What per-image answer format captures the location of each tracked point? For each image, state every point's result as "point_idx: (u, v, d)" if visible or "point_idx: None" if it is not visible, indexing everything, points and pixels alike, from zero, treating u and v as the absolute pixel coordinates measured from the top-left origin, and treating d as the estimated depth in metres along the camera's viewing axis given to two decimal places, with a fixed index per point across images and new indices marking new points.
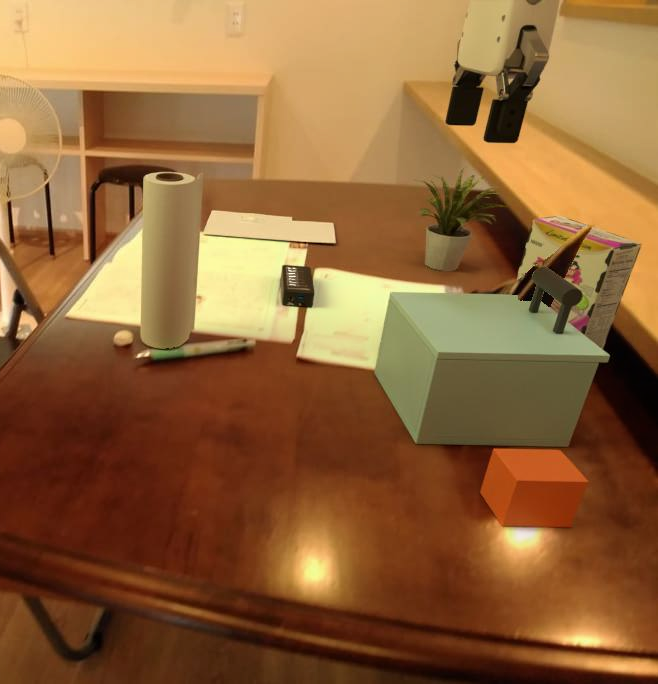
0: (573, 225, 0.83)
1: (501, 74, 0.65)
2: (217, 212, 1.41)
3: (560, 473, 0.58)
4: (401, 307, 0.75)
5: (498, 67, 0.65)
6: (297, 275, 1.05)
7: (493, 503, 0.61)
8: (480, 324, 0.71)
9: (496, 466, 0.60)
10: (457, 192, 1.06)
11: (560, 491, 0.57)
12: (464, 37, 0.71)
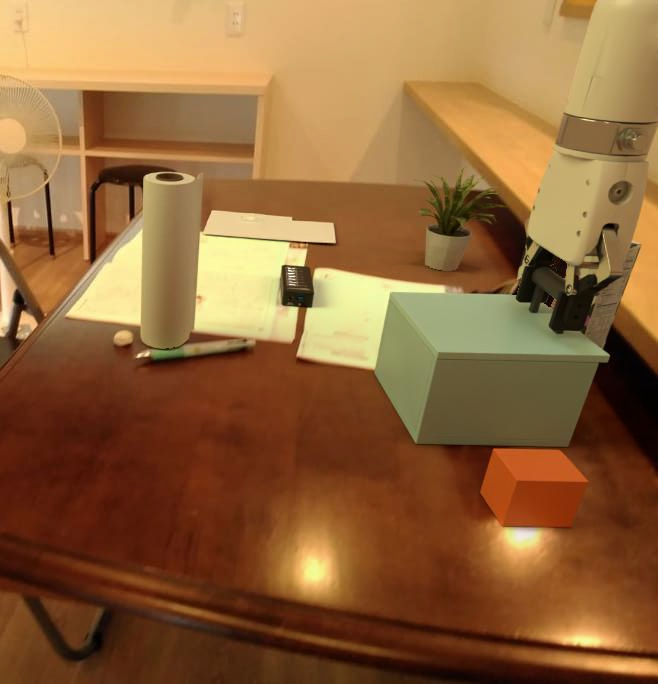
0: None
1: (572, 270, 0.65)
2: (217, 212, 1.41)
3: (560, 473, 0.58)
4: (401, 307, 0.75)
5: (577, 260, 0.64)
6: (297, 275, 1.05)
7: (493, 503, 0.61)
8: (480, 324, 0.71)
9: (496, 466, 0.60)
10: (457, 192, 1.06)
11: (560, 491, 0.57)
12: (536, 212, 0.70)
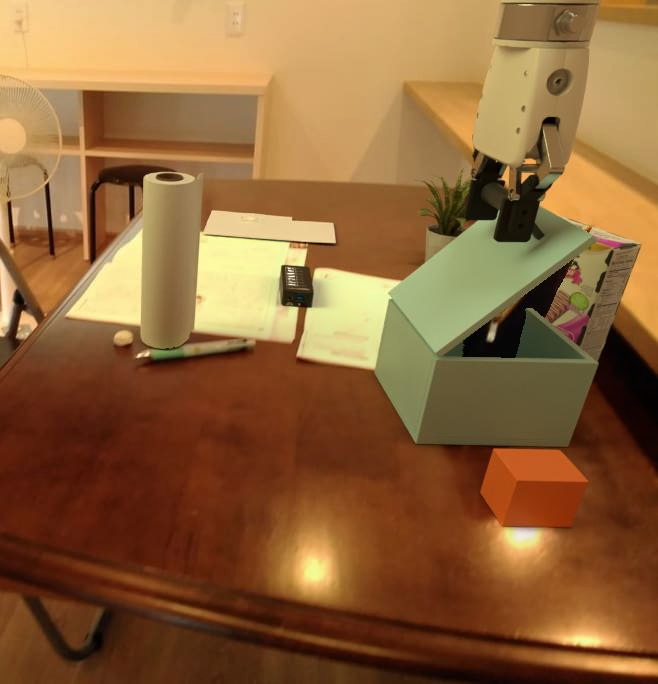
0: None
1: (515, 173, 0.61)
2: (217, 212, 1.41)
3: (560, 473, 0.58)
4: (399, 307, 0.75)
5: (518, 160, 0.59)
6: (296, 275, 1.05)
7: (493, 503, 0.61)
8: (468, 281, 0.68)
9: (496, 466, 0.60)
10: (457, 192, 1.06)
11: (560, 491, 0.57)
12: (479, 119, 0.66)
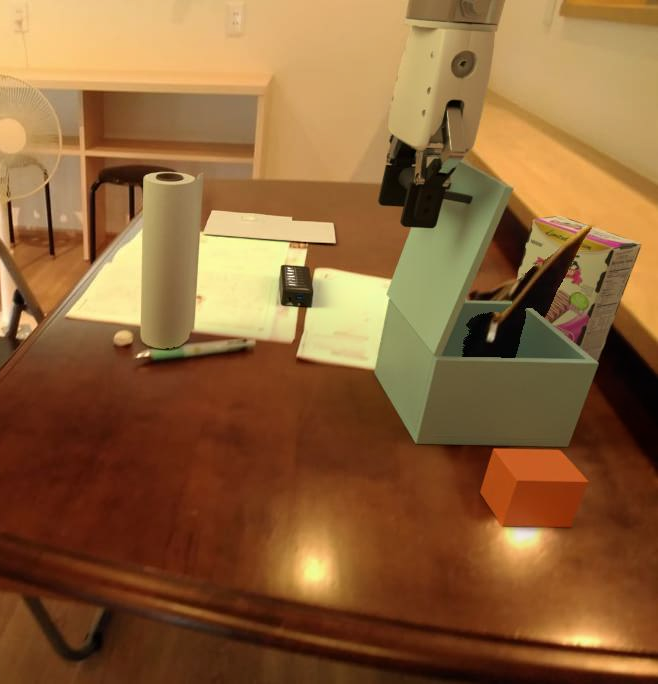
0: (573, 225, 0.83)
1: (420, 156, 0.60)
2: (217, 212, 1.41)
3: (560, 473, 0.58)
4: (398, 308, 0.75)
5: (423, 143, 0.59)
6: (296, 275, 1.05)
7: (493, 503, 0.61)
8: (435, 265, 0.68)
9: (496, 466, 0.60)
10: None
11: (560, 491, 0.57)
12: (394, 102, 0.65)
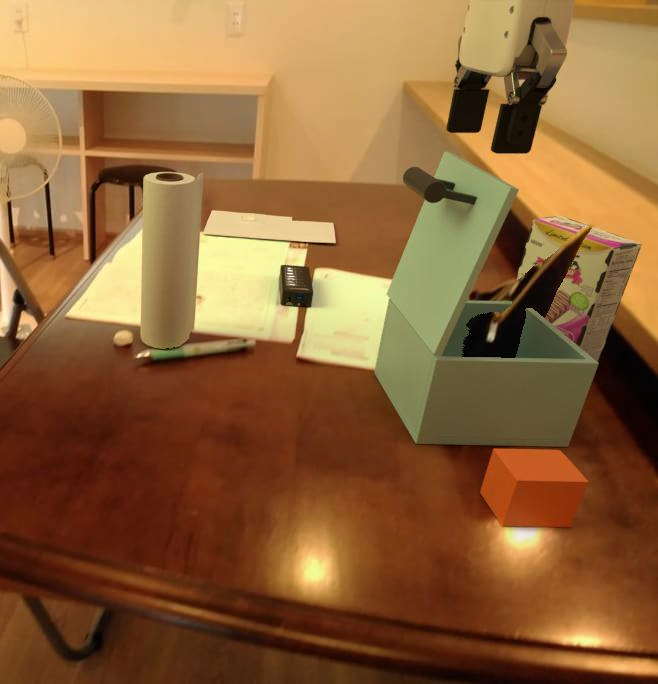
0: (573, 225, 0.83)
1: (510, 75, 0.56)
2: (217, 212, 1.41)
3: (560, 473, 0.58)
4: (398, 308, 0.75)
5: (507, 67, 0.56)
6: (296, 275, 1.05)
7: (493, 503, 0.61)
8: (436, 265, 0.68)
9: (496, 466, 0.60)
10: None
11: (560, 491, 0.57)
12: (466, 33, 0.62)
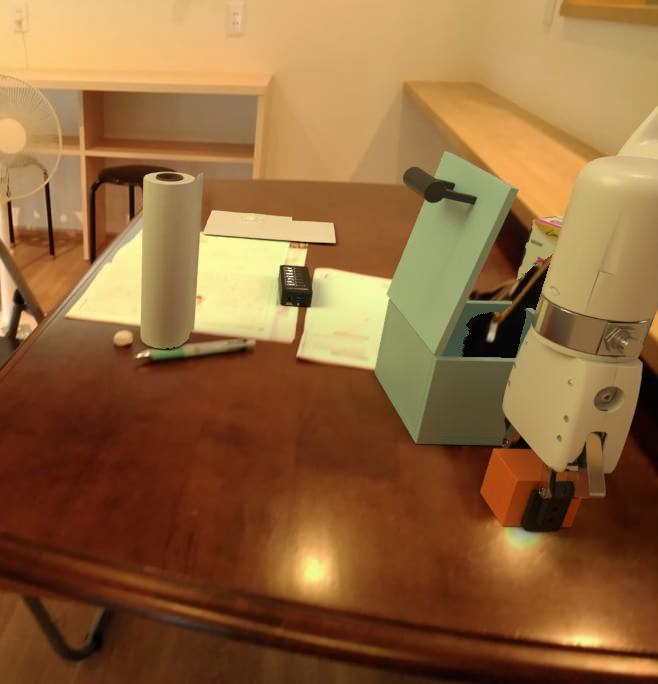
0: None
1: (549, 472, 0.55)
2: (217, 212, 1.41)
3: (560, 473, 0.58)
4: (398, 308, 0.75)
5: (558, 467, 0.53)
6: (295, 275, 1.05)
7: (493, 503, 0.61)
8: (436, 265, 0.68)
9: (496, 466, 0.60)
10: None
11: None
12: (511, 390, 0.60)
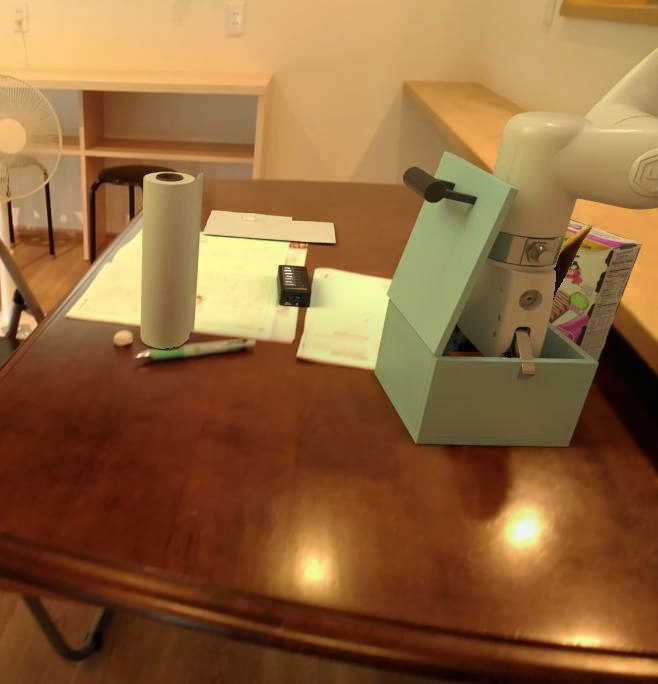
0: (573, 225, 0.83)
1: None
2: (217, 212, 1.41)
3: None
4: (398, 308, 0.75)
5: None
6: (294, 275, 1.05)
7: None
8: (436, 265, 0.68)
9: None
10: None
11: None
12: None
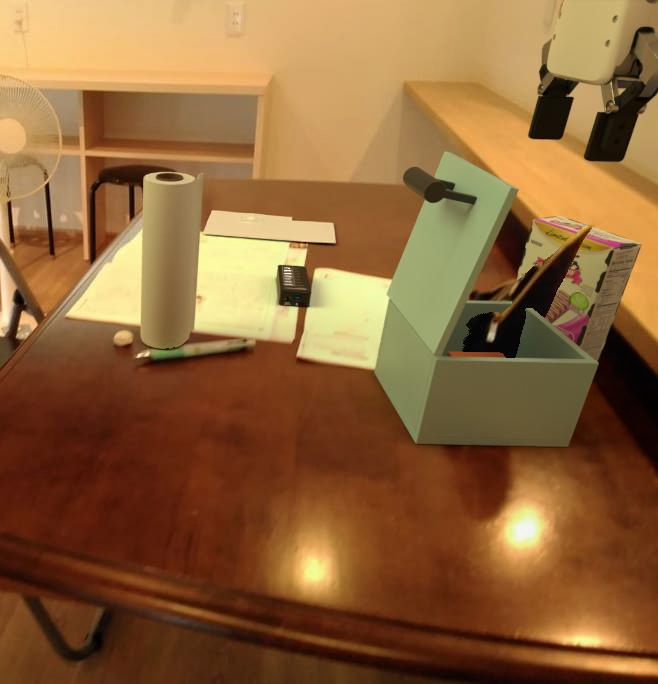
0: (573, 225, 0.83)
1: (609, 83, 0.57)
2: (217, 212, 1.41)
3: None
4: (398, 308, 0.75)
5: (606, 75, 0.56)
6: (293, 275, 1.05)
7: None
8: (436, 265, 0.68)
9: None
10: None
11: None
12: (557, 40, 0.62)
